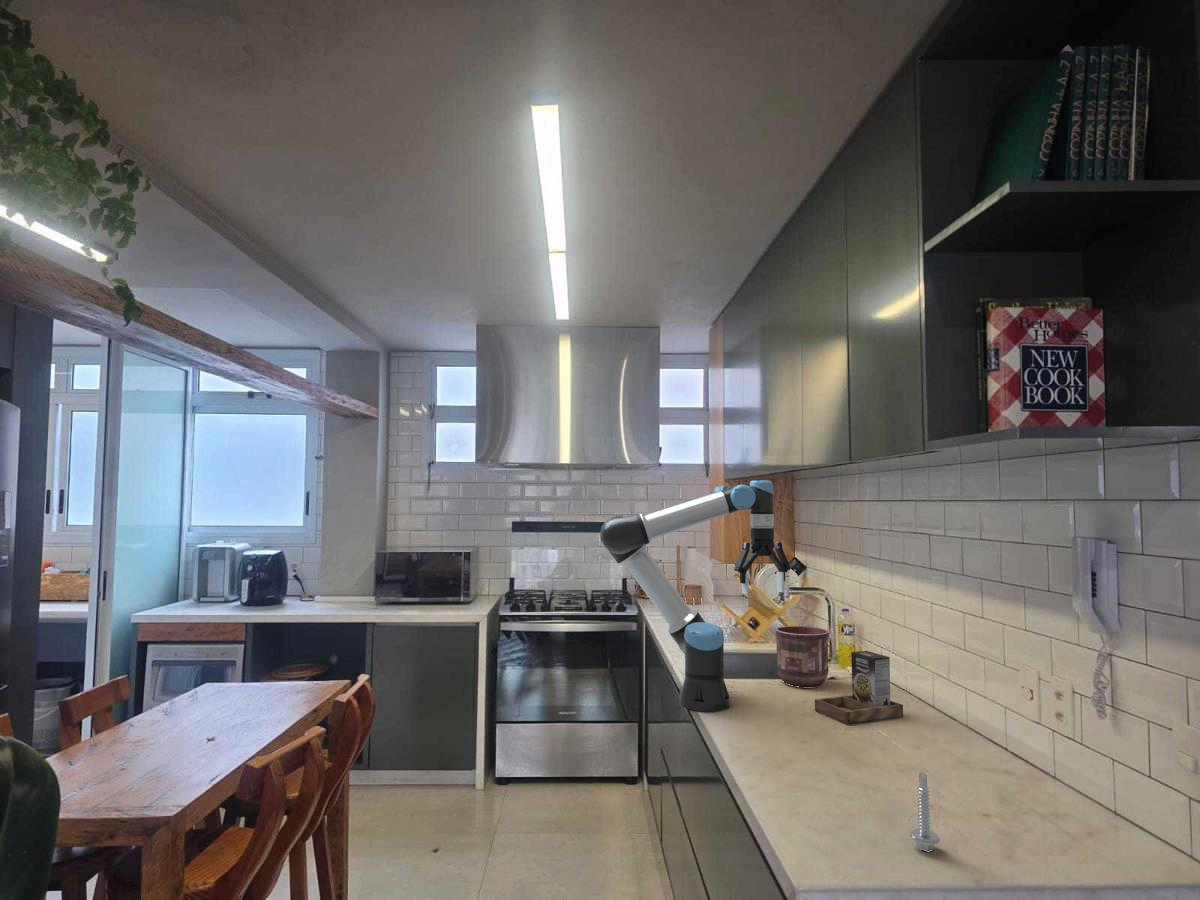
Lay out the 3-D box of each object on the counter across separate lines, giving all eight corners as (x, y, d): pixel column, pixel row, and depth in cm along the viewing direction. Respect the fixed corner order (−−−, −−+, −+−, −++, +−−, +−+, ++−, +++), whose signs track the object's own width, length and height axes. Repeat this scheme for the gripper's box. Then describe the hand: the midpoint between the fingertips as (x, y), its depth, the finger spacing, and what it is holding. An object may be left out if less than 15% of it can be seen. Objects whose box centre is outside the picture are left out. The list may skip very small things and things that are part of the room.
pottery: (834, 692, 221) (833, 635, 223) (778, 689, 224) (778, 633, 226) (825, 679, 239) (824, 626, 240) (773, 676, 241) (773, 624, 243)
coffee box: (851, 707, 202) (849, 651, 203) (867, 704, 205) (866, 649, 206) (875, 716, 194) (873, 657, 195) (891, 713, 196) (890, 656, 198)
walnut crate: (847, 725, 188) (847, 712, 188) (814, 711, 200) (814, 699, 200) (903, 717, 195) (902, 704, 195) (868, 704, 207) (868, 692, 208)
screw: (938, 858, 116) (907, 850, 119) (942, 846, 121) (912, 839, 123) (935, 779, 118) (905, 773, 120) (939, 770, 122) (910, 764, 124)
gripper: (735, 528, 216) (736, 595, 215) (800, 527, 225) (801, 592, 224) (723, 527, 223) (723, 593, 222) (786, 526, 232) (787, 590, 231)
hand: (763, 593), depth 223 cm, fingers open, 13 cm apart
